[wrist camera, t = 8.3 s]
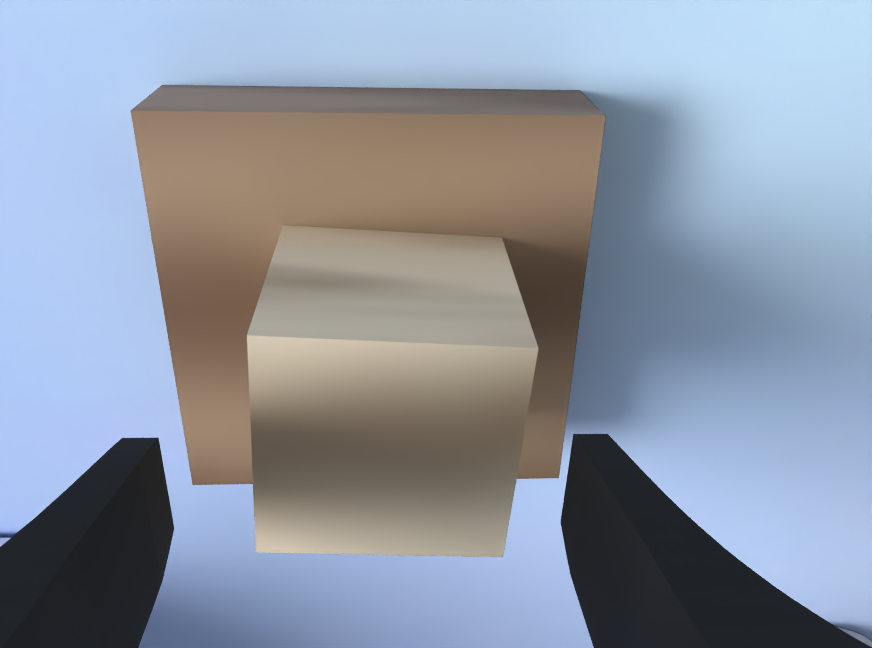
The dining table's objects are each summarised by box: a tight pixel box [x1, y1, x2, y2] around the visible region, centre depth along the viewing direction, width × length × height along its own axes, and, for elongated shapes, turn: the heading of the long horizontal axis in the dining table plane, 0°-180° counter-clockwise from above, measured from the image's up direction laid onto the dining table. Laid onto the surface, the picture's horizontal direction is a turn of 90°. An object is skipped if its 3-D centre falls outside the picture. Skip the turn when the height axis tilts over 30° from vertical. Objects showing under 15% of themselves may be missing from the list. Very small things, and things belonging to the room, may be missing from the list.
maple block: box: [247, 225, 539, 557], centre depth 17 cm, size 5×5×5 cm
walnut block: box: [131, 85, 605, 485], centre depth 20 cm, size 10×10×3 cm
